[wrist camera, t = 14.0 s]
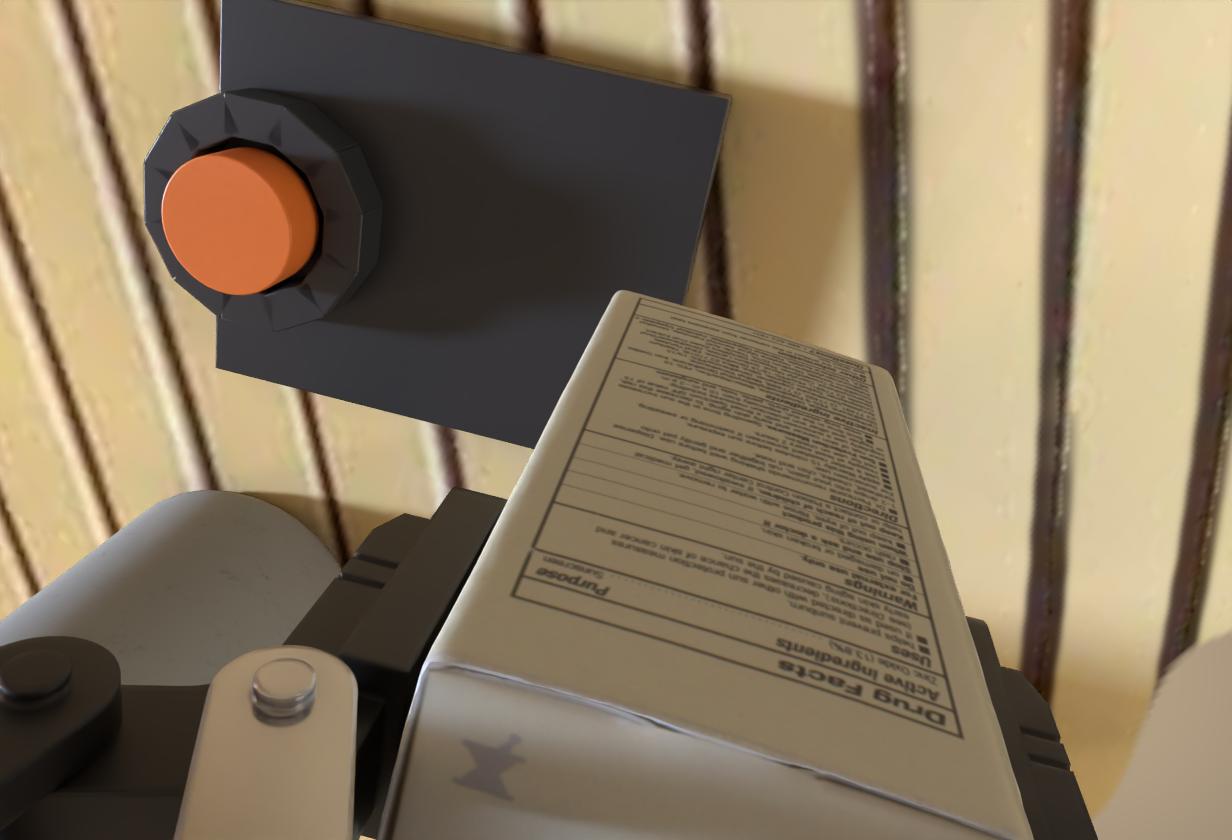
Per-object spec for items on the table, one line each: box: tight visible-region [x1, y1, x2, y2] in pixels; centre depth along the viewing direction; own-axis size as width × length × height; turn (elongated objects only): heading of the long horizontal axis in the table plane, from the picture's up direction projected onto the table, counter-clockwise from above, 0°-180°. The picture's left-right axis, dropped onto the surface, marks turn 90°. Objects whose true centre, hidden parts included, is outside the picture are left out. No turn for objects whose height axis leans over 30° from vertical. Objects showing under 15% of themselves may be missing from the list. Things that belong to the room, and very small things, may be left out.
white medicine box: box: [377, 290, 1034, 840], centre depth 13 cm, size 5×4×10 cm
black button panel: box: [143, 0, 732, 449], centre depth 29 cm, size 16×12×3 cm
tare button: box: [161, 147, 319, 295], centre depth 28 cm, size 4×4×2 cm
